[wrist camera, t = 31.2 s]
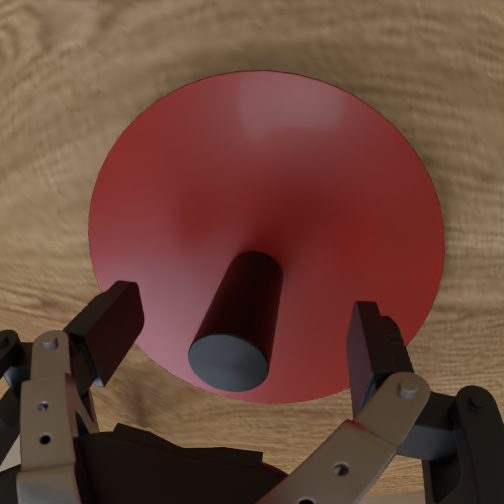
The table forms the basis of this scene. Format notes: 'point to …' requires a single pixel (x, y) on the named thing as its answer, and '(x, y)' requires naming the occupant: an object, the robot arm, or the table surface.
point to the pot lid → (265, 231)
